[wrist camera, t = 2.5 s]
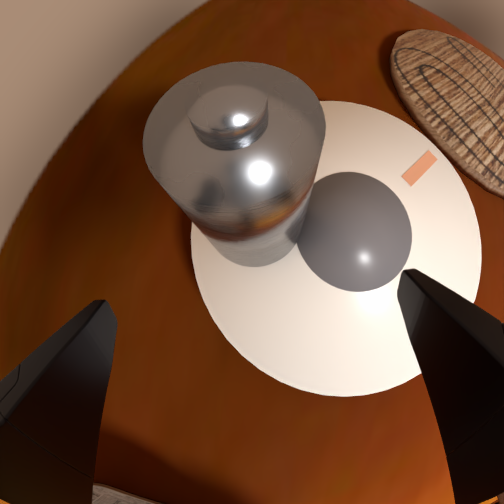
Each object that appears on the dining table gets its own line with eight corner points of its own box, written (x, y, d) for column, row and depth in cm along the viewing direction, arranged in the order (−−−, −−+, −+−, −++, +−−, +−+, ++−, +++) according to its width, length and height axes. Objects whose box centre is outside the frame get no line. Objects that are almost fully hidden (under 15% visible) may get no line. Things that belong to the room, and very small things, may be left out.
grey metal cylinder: (247, 287, 18) (199, 238, 7) (189, 215, 19) (101, 107, 8) (322, 224, 18) (373, 107, 7) (260, 160, 19) (242, 21, 8)
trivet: (441, 27, 27) (445, 19, 25) (556, 147, 22) (563, 141, 20) (343, 68, 25) (345, 55, 23) (511, 252, 20) (523, 248, 18)
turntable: (327, 444, 17) (332, 456, 15) (145, 221, 21) (133, 212, 19) (500, 253, 18) (514, 248, 16) (341, 82, 23) (345, 67, 21)
